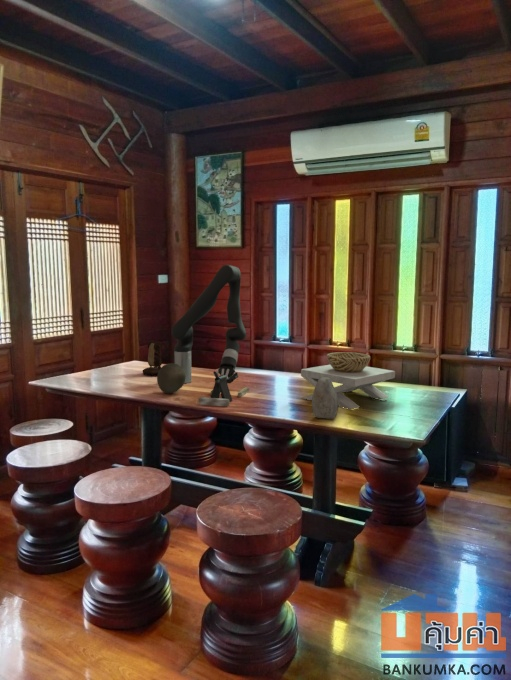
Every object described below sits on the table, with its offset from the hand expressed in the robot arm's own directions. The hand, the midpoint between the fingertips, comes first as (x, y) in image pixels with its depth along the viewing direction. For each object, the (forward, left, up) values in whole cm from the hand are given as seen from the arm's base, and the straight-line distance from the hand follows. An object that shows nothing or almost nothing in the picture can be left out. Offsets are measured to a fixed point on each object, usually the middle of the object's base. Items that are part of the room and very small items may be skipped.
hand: (222, 389), depth 252 cm
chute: (0, +4, -5) cm, 6 cm away
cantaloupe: (-28, +5, -5) cm, 29 cm away
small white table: (+58, +18, -5) cm, 61 cm away
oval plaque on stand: (-57, +49, -5) cm, 75 cm away
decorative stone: (+52, -15, -5) cm, 54 cm away
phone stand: (+1, -4, -5) cm, 6 cm away
